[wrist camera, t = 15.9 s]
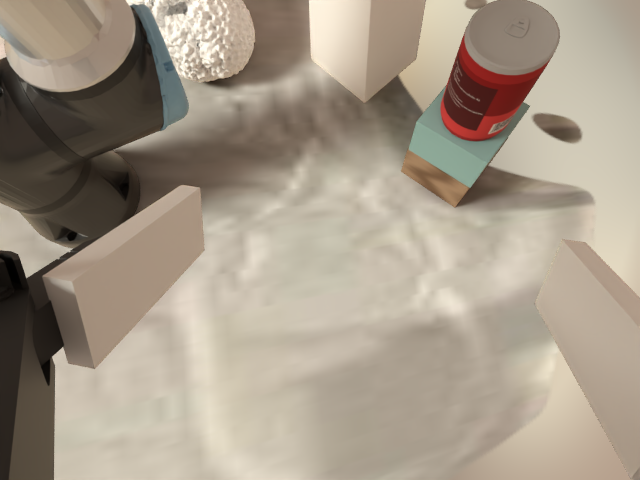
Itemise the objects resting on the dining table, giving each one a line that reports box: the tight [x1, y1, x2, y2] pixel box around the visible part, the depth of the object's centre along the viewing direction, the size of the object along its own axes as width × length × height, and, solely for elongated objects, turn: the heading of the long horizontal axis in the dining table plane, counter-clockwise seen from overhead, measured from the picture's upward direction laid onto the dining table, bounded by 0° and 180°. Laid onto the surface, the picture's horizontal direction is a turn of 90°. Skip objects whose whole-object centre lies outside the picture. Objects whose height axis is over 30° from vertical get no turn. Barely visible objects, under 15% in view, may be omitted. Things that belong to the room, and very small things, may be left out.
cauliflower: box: [126, 0, 256, 83], centre depth 57 cm, size 20×18×16 cm
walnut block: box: [401, 138, 508, 207], centre depth 52 cm, size 9×9×6 cm
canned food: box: [440, 0, 560, 141], centre depth 38 cm, size 8×8×11 cm
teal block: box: [408, 85, 530, 188], centre depth 46 cm, size 9×9×6 cm
